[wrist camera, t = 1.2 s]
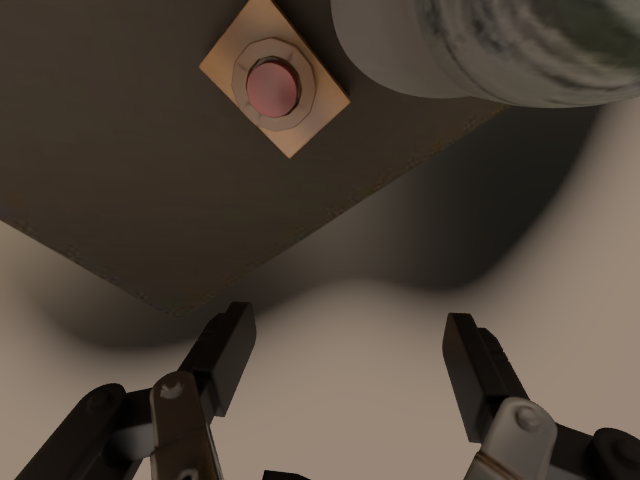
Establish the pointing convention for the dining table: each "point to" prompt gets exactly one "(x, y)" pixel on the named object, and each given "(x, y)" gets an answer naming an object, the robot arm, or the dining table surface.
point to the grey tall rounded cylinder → (497, 48)
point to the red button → (272, 88)
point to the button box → (284, 46)
